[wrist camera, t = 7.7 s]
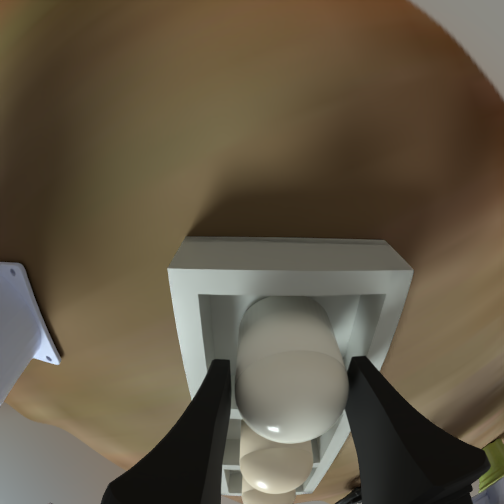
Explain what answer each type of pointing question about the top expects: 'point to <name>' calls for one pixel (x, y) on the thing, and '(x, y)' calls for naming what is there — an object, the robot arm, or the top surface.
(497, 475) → the plant pot
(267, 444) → the egg carton
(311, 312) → the egg
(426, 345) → the top surface
